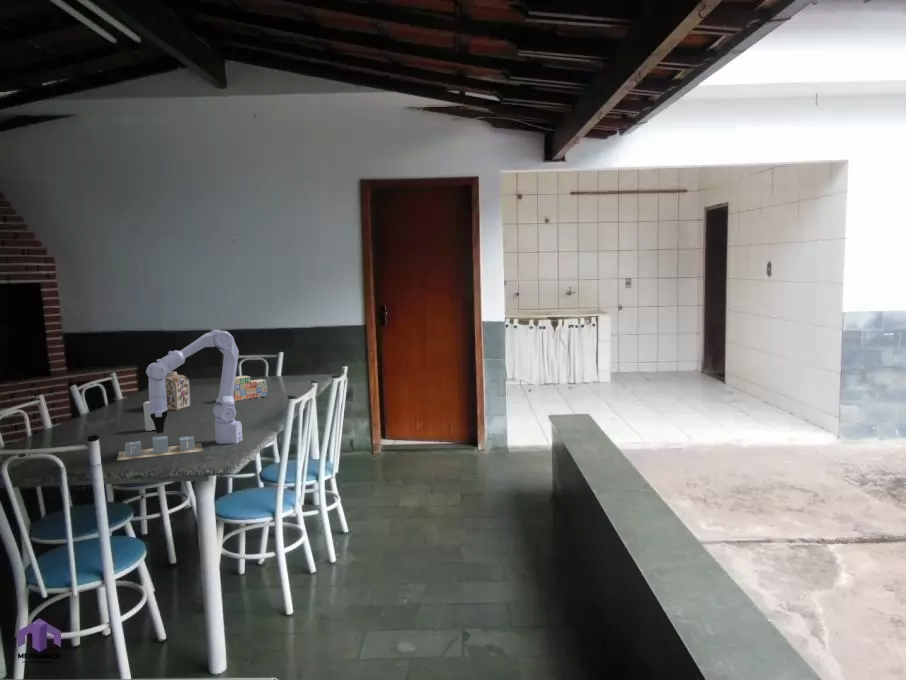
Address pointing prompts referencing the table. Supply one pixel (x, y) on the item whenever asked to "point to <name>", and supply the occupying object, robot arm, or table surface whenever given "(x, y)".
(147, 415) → the skincare box
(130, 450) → the block with a 7
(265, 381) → the stack of blocks
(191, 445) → the block with a 1
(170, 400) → the decorative jar
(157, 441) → the plain block
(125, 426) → the table surface
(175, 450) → the birch board
